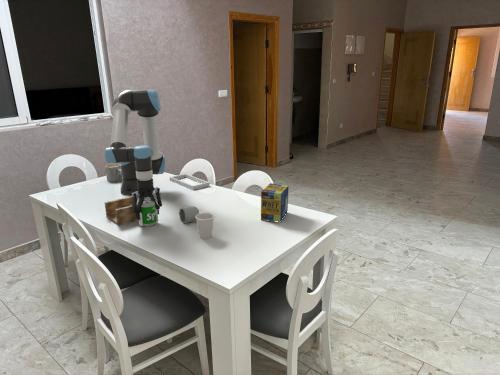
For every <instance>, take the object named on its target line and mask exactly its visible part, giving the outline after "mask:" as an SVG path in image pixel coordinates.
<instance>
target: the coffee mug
mask: <svg viewBox="0 0 500 375" xmlns="http://www.w3.org/2000/svg"><path fill="white" fill-rule="evenodd" d="M104 168H105V175H106V176H105V177H106V181H107V182H110V183H113V182H120V181H122V171H121V163H109V164H107V165H105V167H104Z"/></svg>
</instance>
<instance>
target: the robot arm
mask: <svg viewBox="0 0 500 375" xmlns="http://www.w3.org/2000/svg"><path fill="white" fill-rule="evenodd" d="M160 100H161V99H160V96H159V92H158V91H157V90H156V89H150V88H148V89H126V90H124V91H122V92H121V93H119V94H117V96H116V97H115V99H114V100H113V102H112V106H111V112H112V123H111V124H112V125H111V126H112V127H111V136H110V137H111V138H110V147H106V148H105V149H104V159H105V162H106V163H107V164H120V165H121V171H122V180H121V186H120V194H122V195H125V196H132V197H133V198H132V212H133V213H136V216H137V219H138V220H137V221H138V225H139V226H140V227H143V221H142V213H140V211H141V208H142V207H141V206H142V204H143V201H144V200H146V199H147V198H149V199H150V200H153V202H155V209H156V221H157V222H159V215H160V209H161V207H163V203H162V198H161V194H160V191H161V189H160V188H159V187H157V186H155V187H154V178H153V177H154V176H153V175H164V174H165V169H166V168H165V167H166V155H164V153H163V152H162V151H161V150H160V142H159V131H158V130H159V129H158V122H157V121H158V120H157V119H158V118H157V116H158V115H159V113H160V112H161V111H162V105H161V101H160ZM131 112H137V116H139V117H140V122H141V129H142V136H143V145H136V146H128V144H127V142H128V131H129V116H130V114H131ZM154 193H155V196H154ZM155 197H156V198H155ZM157 222H156V223H157Z"/></svg>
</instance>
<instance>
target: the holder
mask: <svg viewBox="0 0 500 375" xmlns="http://www.w3.org/2000/svg"><path fill="white" fill-rule="evenodd" d="M132 198H133V197H132V195H129V196H127V197H122V198H117V199H114V200H108V201H105V202H104V208H105V217H106V218H107V219H108V220H110V221H111V222H112V223H114V224H115V225H117V226H122V225H124V224H126V225H127V224H129V223H132V222H136V221H139V220H138V219H137V216H136V213H133V212H132Z"/></svg>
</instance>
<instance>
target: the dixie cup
mask: <svg viewBox="0 0 500 375" xmlns="http://www.w3.org/2000/svg"><path fill="white" fill-rule="evenodd" d="M214 218H215V214H213V213H211V212H199V214H198V215H196V220H195V221H196V226H197V230H198V235H199V238H200V239H203V240H207V239H211V238H212V236H213V229H214V228H213V227H214Z"/></svg>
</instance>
